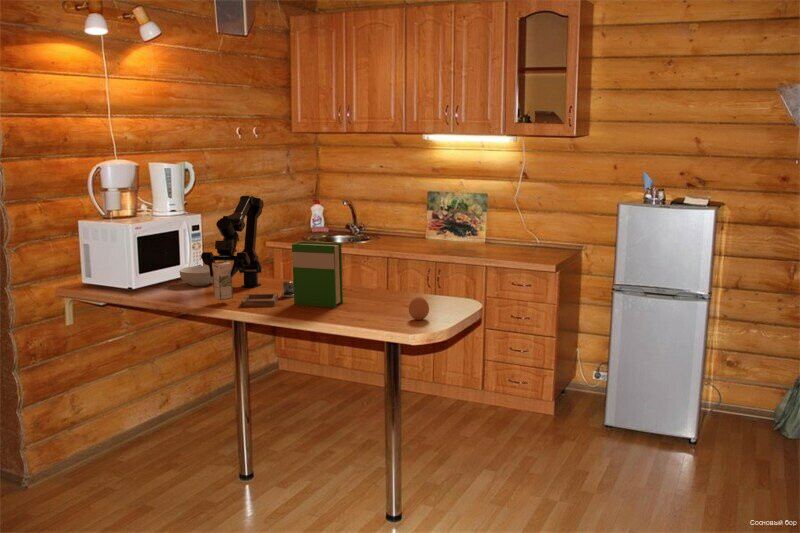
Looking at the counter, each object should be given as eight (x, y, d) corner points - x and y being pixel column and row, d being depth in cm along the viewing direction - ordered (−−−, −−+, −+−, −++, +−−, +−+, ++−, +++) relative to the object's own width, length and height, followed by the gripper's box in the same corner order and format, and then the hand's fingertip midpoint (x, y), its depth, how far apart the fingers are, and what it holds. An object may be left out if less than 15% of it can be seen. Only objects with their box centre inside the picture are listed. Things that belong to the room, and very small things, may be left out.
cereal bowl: (191, 290, 334) (190, 274, 333) (173, 284, 346) (172, 269, 345) (226, 284, 345) (225, 268, 344) (208, 279, 358) (207, 263, 356)
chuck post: (286, 294, 324) (285, 280, 323) (299, 295, 321) (298, 280, 320) (279, 297, 318) (278, 282, 317) (291, 298, 316) (291, 283, 315)
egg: (429, 317, 283) (429, 294, 281) (429, 322, 276) (428, 298, 274) (409, 317, 283) (408, 294, 282) (408, 322, 276) (408, 298, 275)
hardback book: (343, 303, 306) (341, 243, 302) (335, 307, 300) (333, 246, 295) (302, 300, 312) (300, 241, 308) (294, 304, 305) (291, 244, 301)
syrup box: (227, 296, 312) (225, 260, 309) (233, 298, 308) (231, 262, 305) (214, 298, 309) (211, 262, 306) (220, 300, 304) (217, 264, 301)
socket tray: (246, 299, 315) (246, 294, 315) (278, 298, 316) (277, 293, 315) (241, 307, 302) (241, 301, 302) (274, 306, 303) (274, 300, 303)
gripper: (200, 232, 308) (191, 264, 300) (246, 232, 306) (238, 265, 297) (209, 248, 317) (201, 280, 309) (253, 248, 315) (246, 281, 306)
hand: (221, 276), depth 305 cm, fingers closed on syrup box, 8 cm apart
